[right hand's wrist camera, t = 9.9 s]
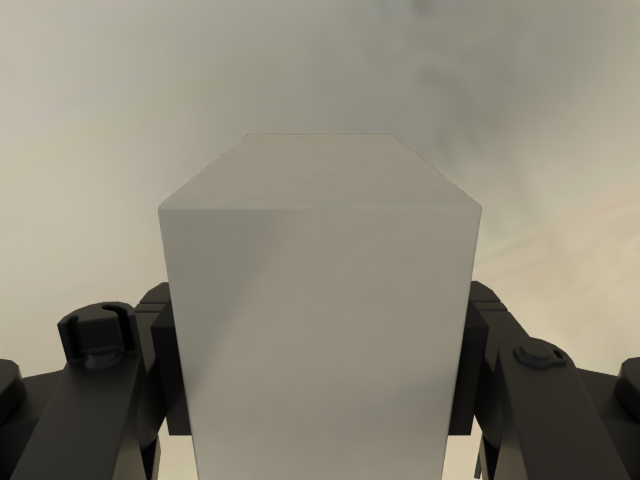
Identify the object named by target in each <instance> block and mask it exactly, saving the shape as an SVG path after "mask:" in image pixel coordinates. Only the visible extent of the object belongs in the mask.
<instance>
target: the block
mask: <svg viewBox="0 0 640 480" xmlns="http://www.w3.org/2000/svg"><path fill="white" fill-rule="evenodd" d="M481 211H482V208H481V205H480V204H478V203H477V202H476V201H475V200H473V199H472V198H471V197H470V196H468V195H467V194H466V193H465V192H463V191H462V190H461V189H460V188H458V187H457V186H456V185H455V184H453V183H452V182H451V181H450V180H448V179H447V178H446V177H445V176H443V175H442V174H441V173H440V172H438V171H437V170H436V169H435V168H433V167H432V166H431V165H430V164H428V163H427V162H426V161H425V160H423V159H422V158H421V157H420V156H418V155H417V154H416V153H415V152H413V151H412V150H411V149H410V148H408V147H407V146H406V145H405V144H403V143H402V142H401V141H400V140H398V139H397V138H396V137H395V136H393V135H392V134H248V135H247V136H245V137H244V138H243V139H241V140H240V141H239V142H238V143H236V144H235V145H234V146H233V147H231V148H230V149H229V150H228V151H226V152H225V153H224V154H223V155H221V156H220V157H219V158H218V159H216V160H215V161H214V162H213V163H211V164H210V165H209V166H208V167H206V168H205V169H204V170H203V171H201V172H200V173H199V174H198V175H196V176H195V177H194V178H193V179H191V180H190V181H189V182H188V183H186V184H185V185H184V186H182V187H181V188H180V189H179V190H177V191H176V192H175V193H174V194H172V195H171V196H170V197H169V198H167V199H166V200H165V201H164V202H162V203H161V204H160V205H159V206H158V214H159V221H160V227H161V234H162V241H163V247H164V254H165V261H166V267H167V274H168V281H169V287H170V294H171V301H172V307H173V314H174V321H175V327H176V334H177V341H178V347H179V354H180V361H181V367H182V374H183V381H184V387H185V394H186V401H187V407H188V414H189V421H190V427H191V434H192V441H193V447H194V454H195V461H196V467H197V474H198V480H441V479H442V472H443V465H444V458H445V452H446V445H447V438H448V432H449V425H450V418H451V412H452V405H453V398H454V392H455V385H456V378H457V372H458V365H459V358H460V352H461V345H462V338H463V331H464V325H465V318H466V311H467V305H468V298H469V291H470V285H471V278H472V271H473V265H474V258H475V251H476V245H477V238H478V231H479V225H480V218H481Z"/></svg>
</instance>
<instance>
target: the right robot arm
mask: <svg viewBox="0 0 640 480" xmlns="http://www.w3.org/2000/svg"><path fill="white" fill-rule="evenodd" d="M57 326H58V330H59V334H60V337H61V341H62V345H63V348H64V352H65V356H66V359H67V363H66V365H65V367H64V369H63V370H60V371H56V372H51V373H46V374H41V375H36V376H31V377H26V378H22V376H21V373H20V370H19V366H18V365H17V364H16V363H14V362H13V361H12V360H4V359H0V480H157V479H158V471H159V463H160V454H161V449H160V442H159V437H158V432H159V429H160V427H161V425H162V423H163V421H164V418H165V416H166V420H167V426H168V431H169V435H192V434H191V427H190V421H189V414H188V407H187V401H186V394H185V387H184V381H183V374H182V367H181V361H180V354H179V347H178V341H177V334H176V327H175V321H174V314H173V307H172V301H171V294H170V287H169V282H162V283H161V284H159V285H158V286H156V287H154V288H153V289H151V290H149V291H148V292H147V293H146V294H145V296H144V297H143V298H142V299H141V301H140V302H139V304H137V306H136V307H135V308H133V307H132V306H131V305H129V304H127V303H122V302H102V303H97V304H92V305H88V306H85V307H83V308H80V309H77V310H75V311H73V312H72V313H70V314H68V315H66V316H65V317H64V318H63V319H62V320H61V321H60V322H59V323H58V324H57ZM474 415H475V417H476V419H477V421H478V424H479V426H480V428H481V430H482V437H481V442H480V447H479V452H478V458H477V463H476V468H475V475H474V478H477V479H480V475H481V470H482V478H483V480H640V357H636V358H629V359H627V360H626V361H625V362H623V363H622V365H621V368H620V371H619V375H618V376H614V375H609V374H604V373H599V372H593V371H588V370H584V369H580V368H576V366H575V364H574V362H573V361H572V359H571V358H570V357H569V356H568V354H567V353H566V352H564V351H563V350H561V349H560V348H558V347H557V346H555V345H553V344H551V343H549V342H546V341H544V340H541V339H537V338H533V337H530V336H529V335H528V334H527V333H526V332H525V330H524V329H523V328H522V327H521V325H520V324H519V323H518V322H517V320H516V319H515V318H514V317H513V315H512V314H511V313H510V312H508V309H507V308H506V307H505V305H504V304H503V303H501V302H500V299H499V298H498V297H497V296H496V294H495V293H494V292H493V291H492V290H491V289H490V288H488V287H486V286H485V285H483V284H481V283H480V282H478V281H471V285H470V291H469V298H468V305H467V311H466V318H465V325H464V331H463V338H462V345H461V352H460V358H459V365H458V372H457V378H456V385H455V392H454V398H453V405H452V412H451V418H450V425H449V432H448V435H471V430H472V424H473V418H474Z"/></svg>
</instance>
